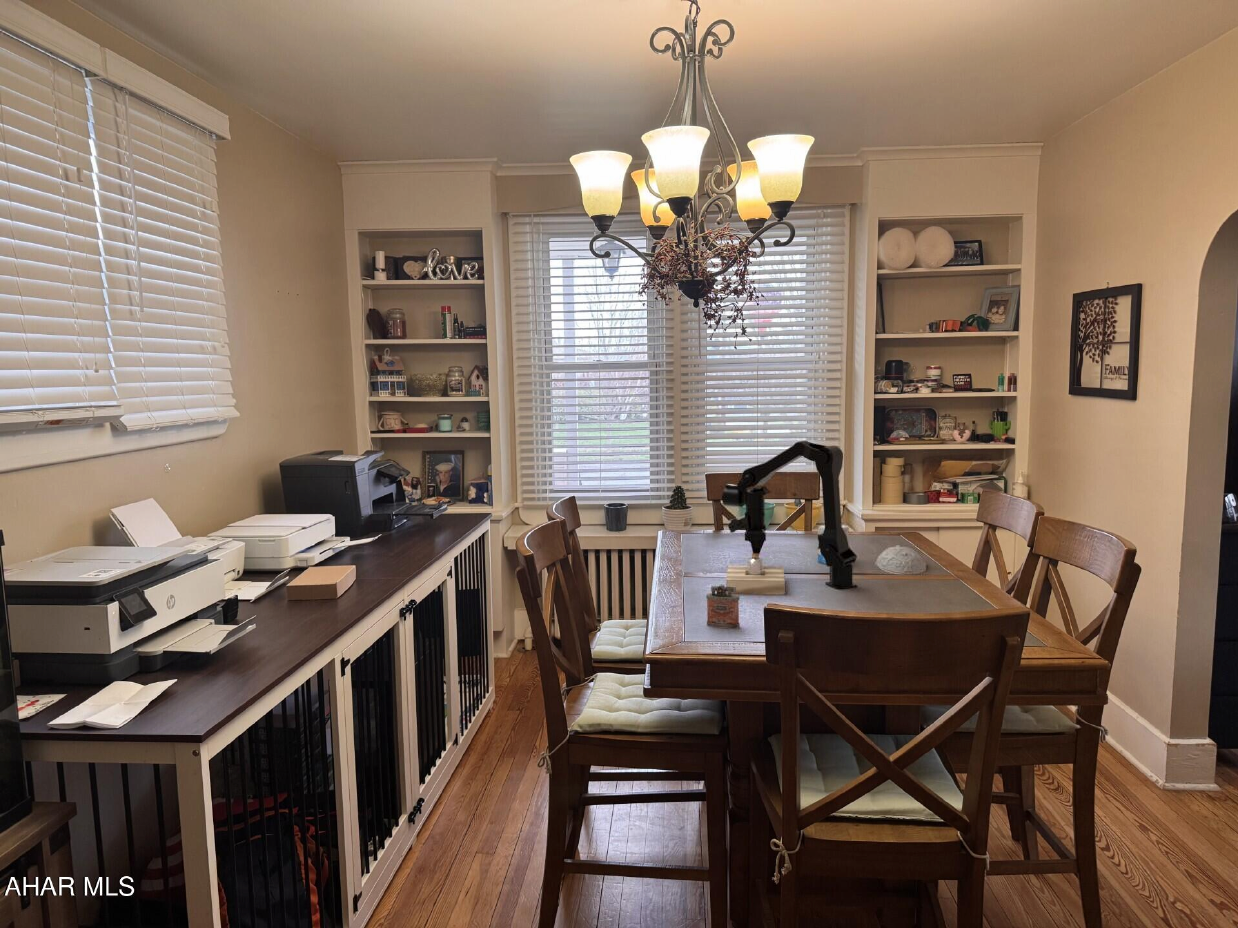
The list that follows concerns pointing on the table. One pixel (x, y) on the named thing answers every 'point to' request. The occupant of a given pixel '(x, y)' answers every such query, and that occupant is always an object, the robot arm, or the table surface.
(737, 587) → the dock
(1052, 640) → the table surface
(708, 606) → the lighter
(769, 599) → the table surface
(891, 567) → the grey textured dome
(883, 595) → the table surface
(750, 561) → the cylinder
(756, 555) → the pin
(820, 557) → the ink box
